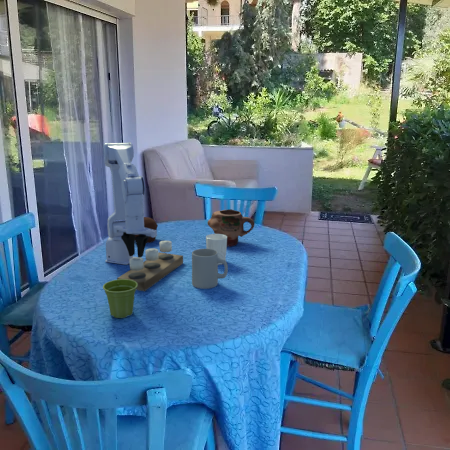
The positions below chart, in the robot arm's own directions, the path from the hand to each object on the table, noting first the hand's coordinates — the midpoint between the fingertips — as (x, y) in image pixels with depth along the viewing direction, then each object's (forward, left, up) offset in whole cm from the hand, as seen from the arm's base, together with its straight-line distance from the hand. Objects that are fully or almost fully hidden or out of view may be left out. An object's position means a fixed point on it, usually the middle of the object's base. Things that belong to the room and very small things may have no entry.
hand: (136, 255), depth 145 cm
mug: (+22, +9, -10) cm, 26 cm away
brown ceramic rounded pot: (+13, +54, -10) cm, 56 cm away
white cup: (+16, +30, -10) cm, 35 cm away
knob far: (0, +20, -4) cm, 20 cm away
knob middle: (0, +10, -4) cm, 11 cm away
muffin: (-23, +44, -10) cm, 51 cm away
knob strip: (0, +10, -10) cm, 14 cm away
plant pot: (+7, -20, -10) cm, 23 cm away
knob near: (0, 0, -4) cm, 4 cm away
